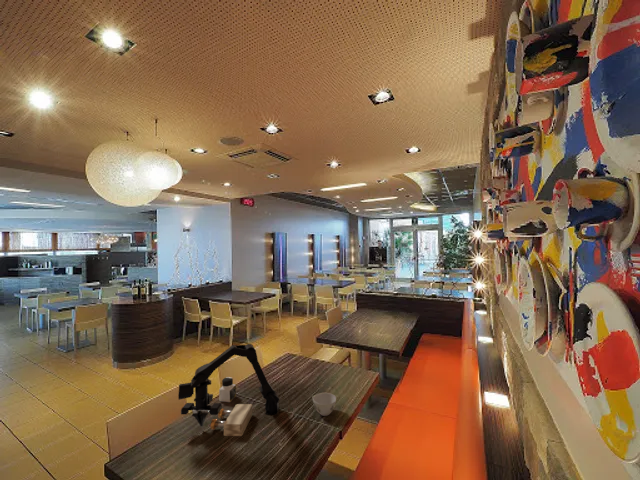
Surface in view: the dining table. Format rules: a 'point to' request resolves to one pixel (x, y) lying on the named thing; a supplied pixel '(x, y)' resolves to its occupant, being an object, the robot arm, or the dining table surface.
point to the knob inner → (224, 413)
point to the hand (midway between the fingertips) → (202, 425)
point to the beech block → (238, 420)
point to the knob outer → (216, 424)
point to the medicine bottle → (227, 390)
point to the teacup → (324, 403)
